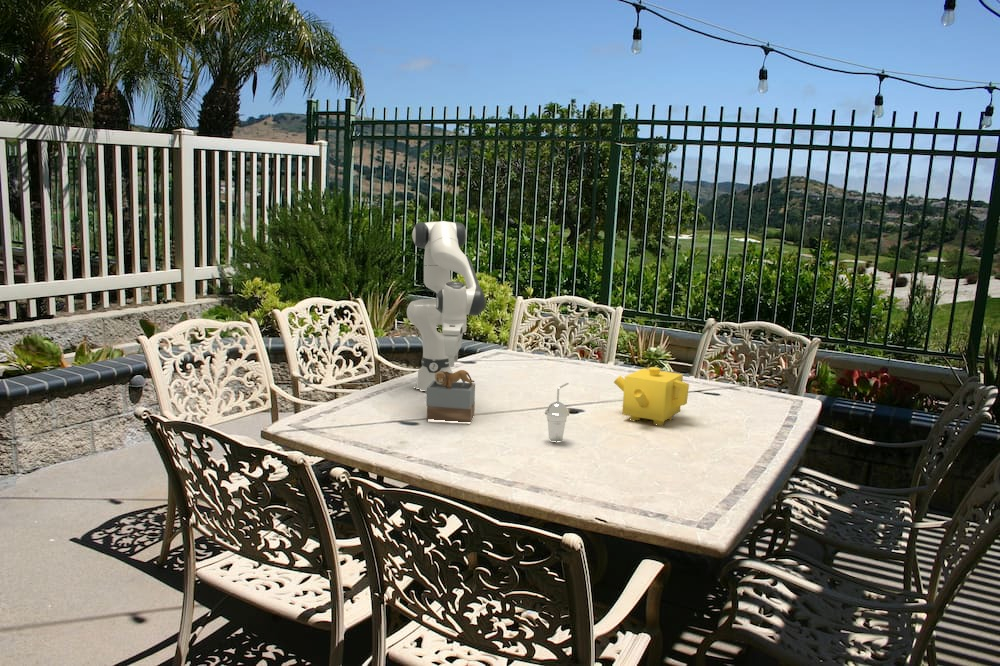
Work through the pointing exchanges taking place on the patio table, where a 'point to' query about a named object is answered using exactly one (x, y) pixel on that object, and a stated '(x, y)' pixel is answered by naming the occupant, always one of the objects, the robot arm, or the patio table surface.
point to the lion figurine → (452, 378)
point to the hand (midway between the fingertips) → (453, 363)
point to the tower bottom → (451, 414)
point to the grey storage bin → (451, 395)
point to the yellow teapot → (652, 394)
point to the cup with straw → (556, 418)
